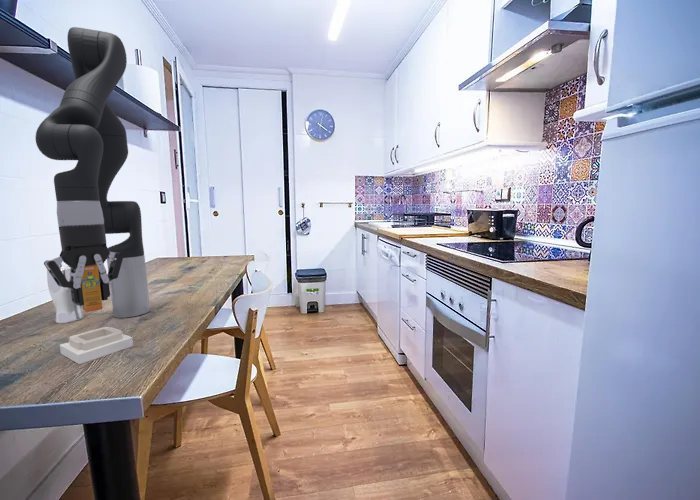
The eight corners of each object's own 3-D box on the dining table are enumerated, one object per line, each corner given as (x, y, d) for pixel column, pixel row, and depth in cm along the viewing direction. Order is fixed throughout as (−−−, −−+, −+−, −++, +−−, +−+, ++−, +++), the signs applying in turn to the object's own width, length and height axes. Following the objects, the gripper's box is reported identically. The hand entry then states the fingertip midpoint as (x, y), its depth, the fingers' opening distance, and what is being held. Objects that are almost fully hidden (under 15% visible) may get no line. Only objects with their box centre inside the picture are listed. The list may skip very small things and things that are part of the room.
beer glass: (91, 317, 96) (84, 266, 95) (64, 325, 90) (56, 271, 88) (75, 315, 99) (68, 265, 97) (47, 322, 92) (39, 270, 90)
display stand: (60, 353, 72) (58, 338, 71) (113, 337, 80) (111, 323, 79) (79, 364, 66) (77, 347, 66) (133, 346, 75) (131, 331, 74)
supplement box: (84, 313, 69) (77, 266, 68) (82, 309, 72) (76, 264, 71) (103, 309, 72) (97, 264, 70) (101, 306, 74) (96, 262, 73)
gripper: (111, 221, 77) (120, 293, 80) (30, 225, 66) (43, 309, 68) (127, 221, 73) (136, 296, 76) (43, 225, 62) (56, 314, 64)
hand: (92, 302), depth 72 cm, fingers closed on supplement box, 3 cm apart
